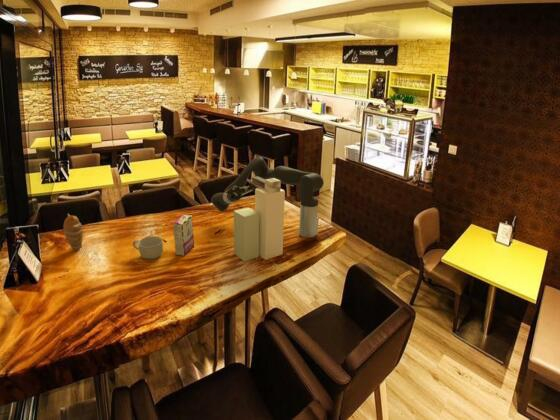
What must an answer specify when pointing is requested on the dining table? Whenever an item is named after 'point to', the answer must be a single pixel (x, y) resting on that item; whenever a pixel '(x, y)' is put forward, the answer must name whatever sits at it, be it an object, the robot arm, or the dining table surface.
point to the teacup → (149, 247)
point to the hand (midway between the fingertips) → (246, 187)
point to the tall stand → (270, 222)
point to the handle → (267, 184)
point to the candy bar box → (183, 235)
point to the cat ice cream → (73, 232)
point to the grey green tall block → (246, 233)
